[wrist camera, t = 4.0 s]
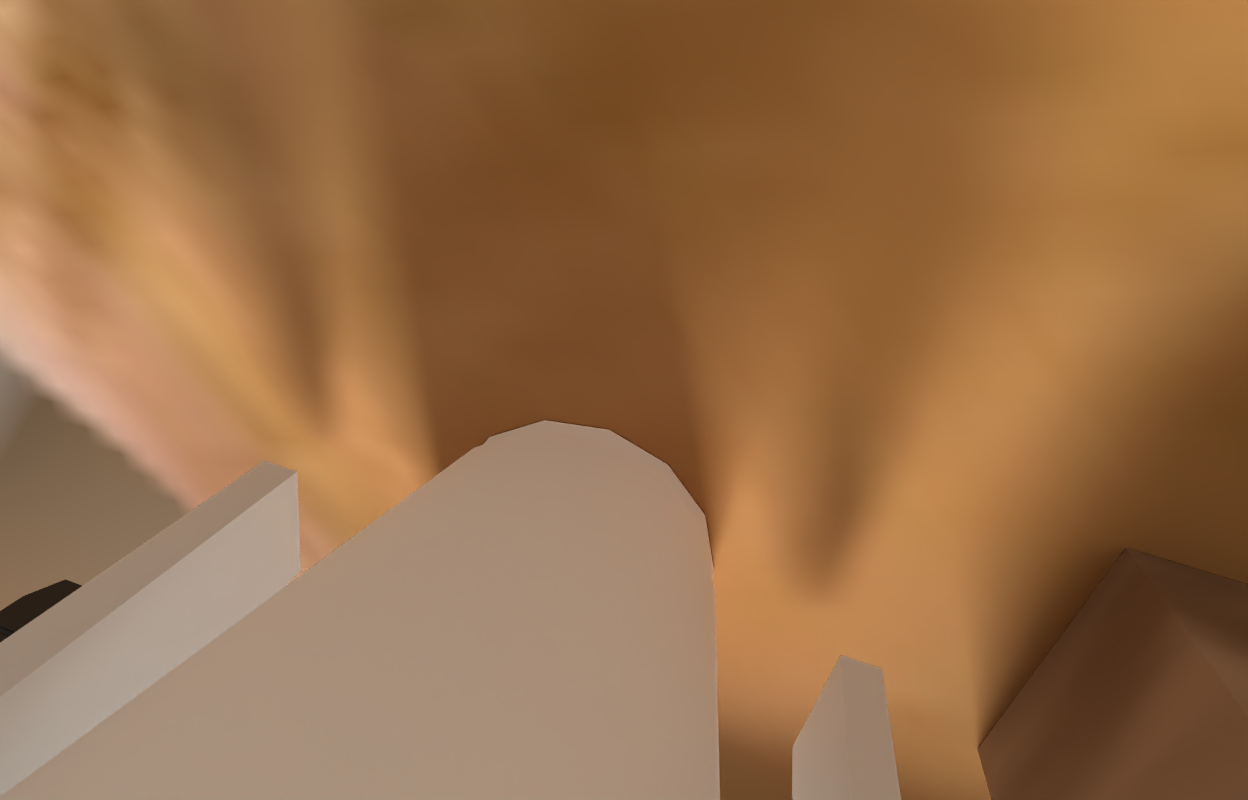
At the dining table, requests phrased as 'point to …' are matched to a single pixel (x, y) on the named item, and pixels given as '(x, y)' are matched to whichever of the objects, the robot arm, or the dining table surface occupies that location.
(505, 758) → the foam cup
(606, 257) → the dining table surface
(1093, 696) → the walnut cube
